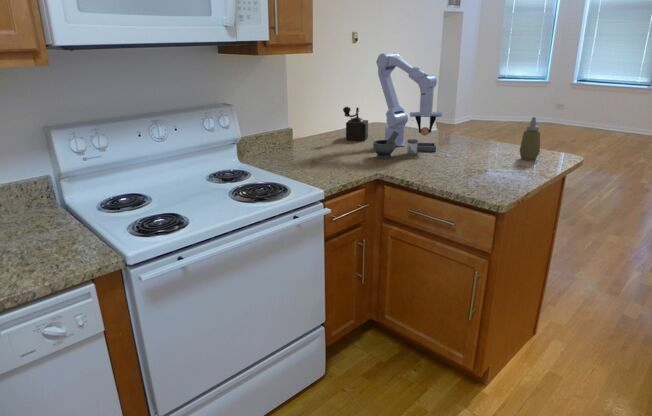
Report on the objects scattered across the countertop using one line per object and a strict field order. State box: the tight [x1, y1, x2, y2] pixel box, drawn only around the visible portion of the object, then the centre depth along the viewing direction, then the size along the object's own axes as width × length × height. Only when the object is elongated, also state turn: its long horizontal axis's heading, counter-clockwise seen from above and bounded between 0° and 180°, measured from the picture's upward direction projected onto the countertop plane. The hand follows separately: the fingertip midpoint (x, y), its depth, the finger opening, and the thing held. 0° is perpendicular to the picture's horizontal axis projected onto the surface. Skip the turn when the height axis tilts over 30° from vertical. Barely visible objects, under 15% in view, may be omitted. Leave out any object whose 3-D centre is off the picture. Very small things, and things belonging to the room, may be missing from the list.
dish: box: [417, 142, 437, 153], centre depth 222 cm, size 11×8×2 cm
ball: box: [420, 126, 430, 137], centre depth 218 cm, size 4×4×4 cm
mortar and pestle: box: [372, 131, 399, 160], centre depth 208 cm, size 11×9×12 cm
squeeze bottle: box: [519, 116, 541, 162], centre depth 198 cm, size 8×8×18 cm
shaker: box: [406, 138, 419, 157], centre depth 212 cm, size 5×5×7 cm
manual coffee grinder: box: [342, 106, 369, 142], centre depth 243 cm, size 16×11×18 cm
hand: (424, 132), depth 219 cm, fingers closed on ball, 4 cm apart
